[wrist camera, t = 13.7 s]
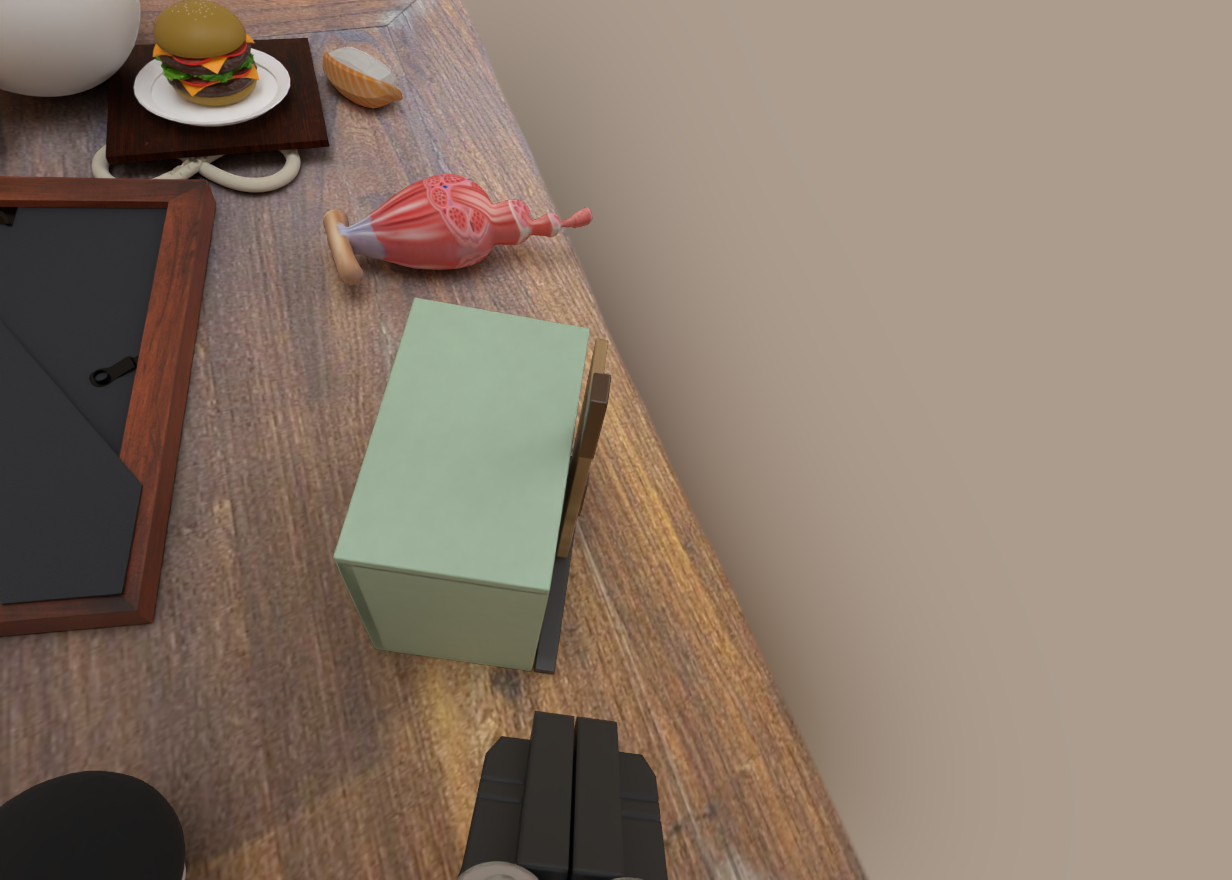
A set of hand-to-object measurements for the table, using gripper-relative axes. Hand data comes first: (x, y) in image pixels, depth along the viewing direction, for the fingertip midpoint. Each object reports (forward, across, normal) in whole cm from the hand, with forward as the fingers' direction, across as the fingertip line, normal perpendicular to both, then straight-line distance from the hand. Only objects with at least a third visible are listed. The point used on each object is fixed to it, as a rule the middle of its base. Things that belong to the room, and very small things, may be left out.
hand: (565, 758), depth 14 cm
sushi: (+44, +17, -18) cm, 50 cm away
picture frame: (+25, +30, +3) cm, 39 cm away
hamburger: (+41, +26, -13) cm, 50 cm away
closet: (+23, +4, +6) cm, 24 cm away
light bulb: (+12, +13, +17) cm, 24 cm away
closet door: (+24, 0, +4) cm, 24 cm away
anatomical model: (+36, +10, -10) cm, 38 cm away
